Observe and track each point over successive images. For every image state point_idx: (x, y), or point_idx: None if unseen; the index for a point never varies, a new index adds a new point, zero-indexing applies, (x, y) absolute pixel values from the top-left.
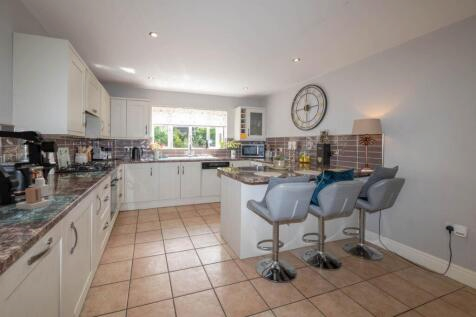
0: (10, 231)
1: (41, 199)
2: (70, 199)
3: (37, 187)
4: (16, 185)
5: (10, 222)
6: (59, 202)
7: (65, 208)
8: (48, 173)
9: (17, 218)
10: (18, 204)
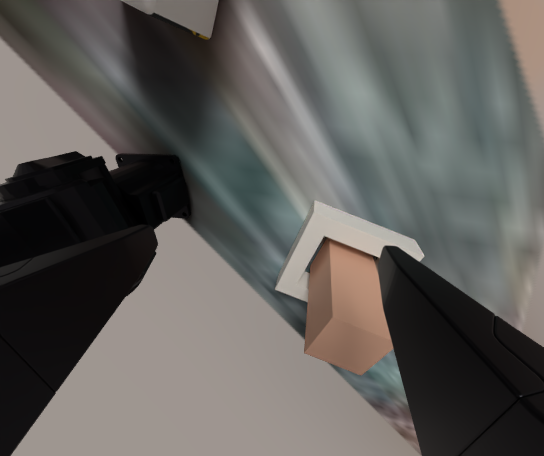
0: (410, 434)
1: (377, 273)
2: (526, 111)
3: (158, 1)
4: (119, 226)
5: (371, 393)
6: (453, 199)
7: (521, 318)
8: (501, 326)
9: (369, 373)
10: (289, 292)
